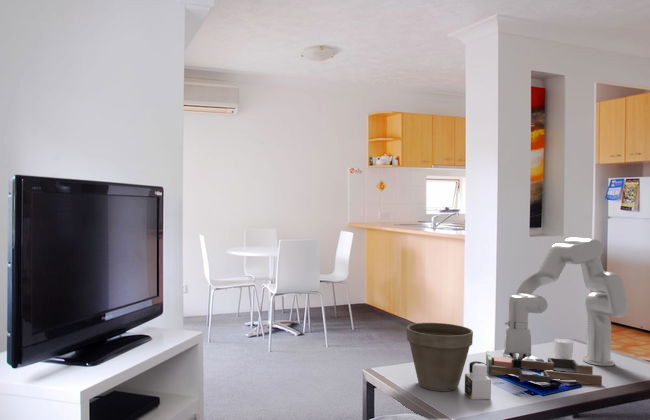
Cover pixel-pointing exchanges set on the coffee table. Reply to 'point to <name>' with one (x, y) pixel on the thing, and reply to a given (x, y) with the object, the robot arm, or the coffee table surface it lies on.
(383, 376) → the coffee table surface
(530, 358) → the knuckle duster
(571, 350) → the white cup
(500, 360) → the salmon pink square block
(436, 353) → the plant pot
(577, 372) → the channel
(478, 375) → the medicine bottle
